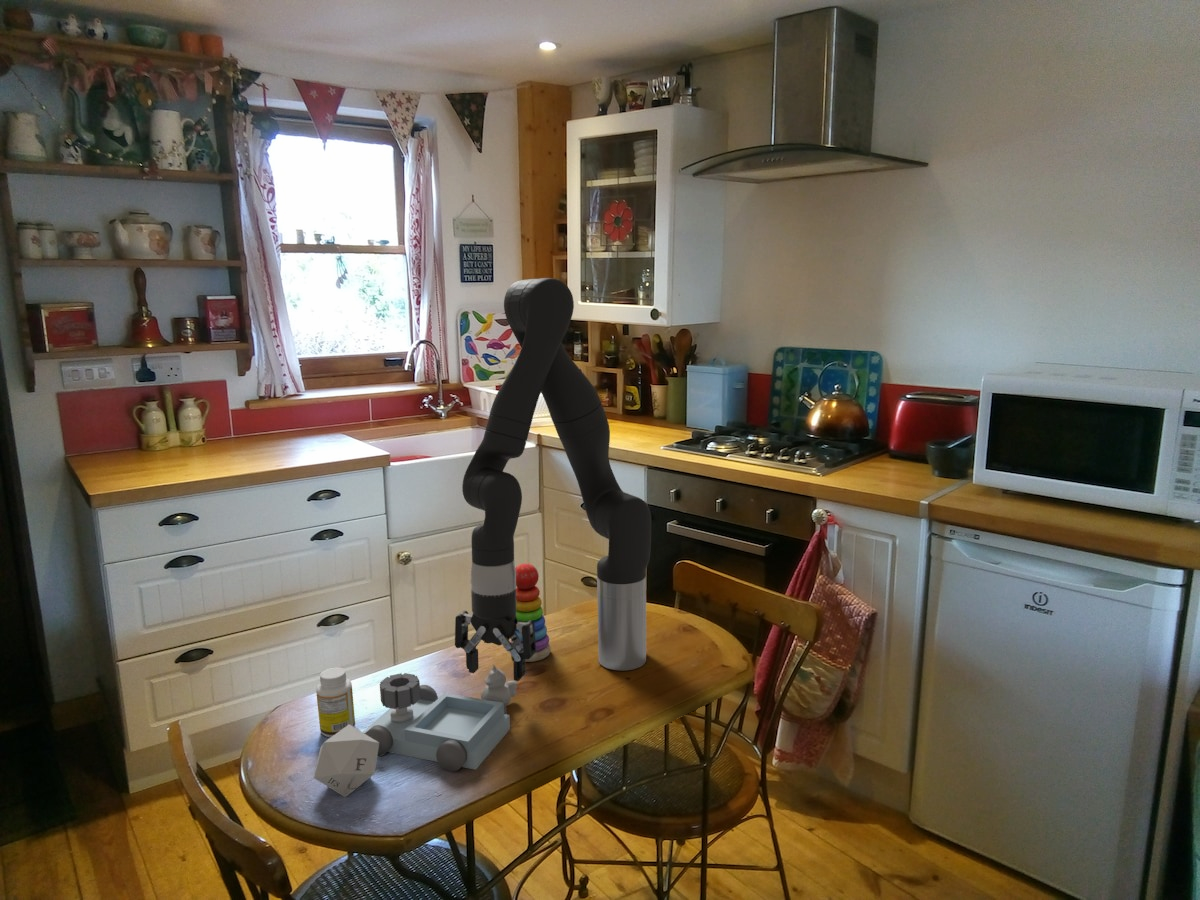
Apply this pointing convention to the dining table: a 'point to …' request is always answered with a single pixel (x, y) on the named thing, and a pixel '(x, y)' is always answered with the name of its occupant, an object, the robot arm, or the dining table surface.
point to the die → (346, 760)
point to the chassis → (443, 729)
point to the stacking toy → (531, 609)
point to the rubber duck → (499, 686)
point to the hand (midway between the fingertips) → (495, 674)
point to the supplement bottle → (334, 701)
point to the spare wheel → (400, 690)
